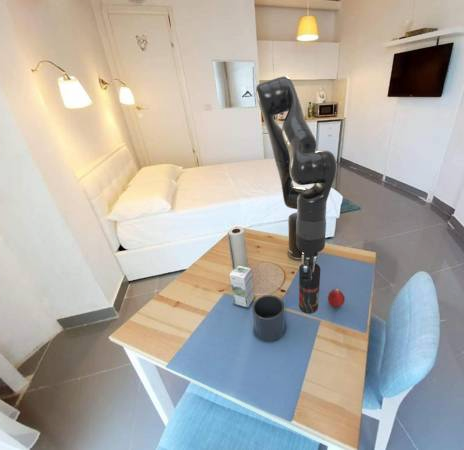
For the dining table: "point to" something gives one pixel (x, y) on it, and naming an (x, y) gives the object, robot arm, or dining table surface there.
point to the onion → (336, 298)
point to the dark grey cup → (269, 317)
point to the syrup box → (242, 286)
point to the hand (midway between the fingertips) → (309, 280)
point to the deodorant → (310, 292)
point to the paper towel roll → (237, 247)
